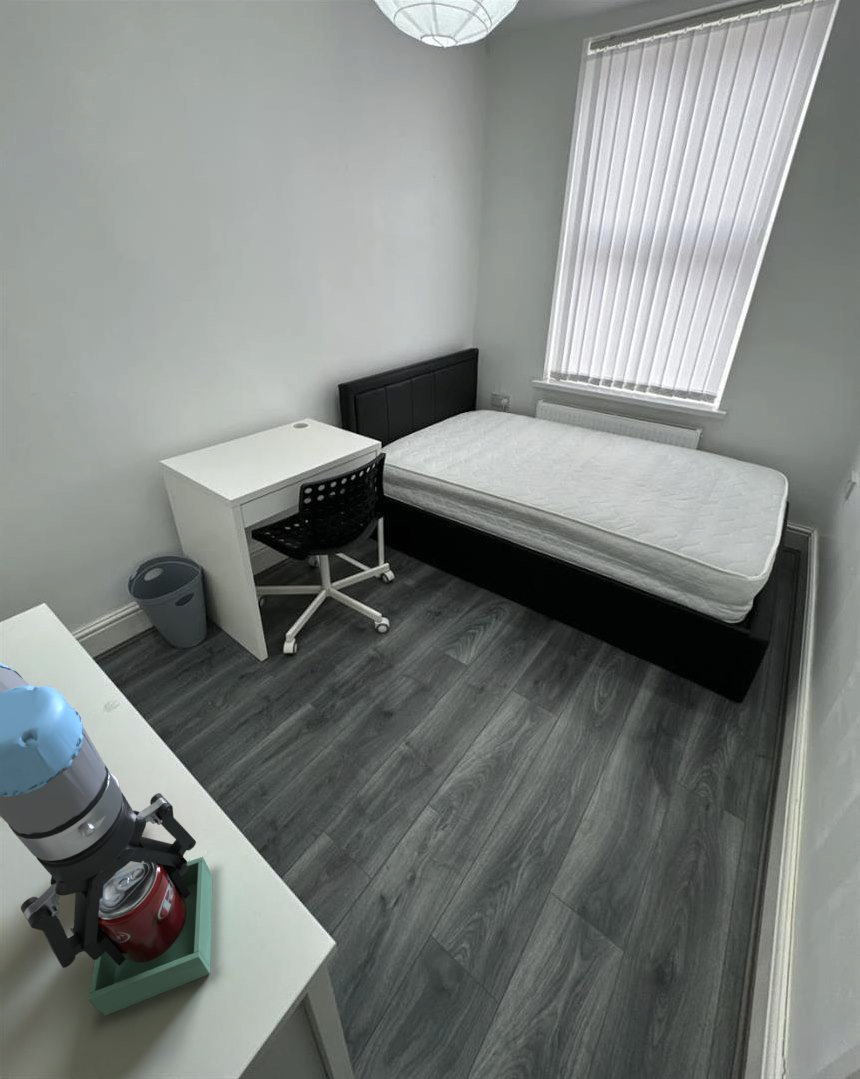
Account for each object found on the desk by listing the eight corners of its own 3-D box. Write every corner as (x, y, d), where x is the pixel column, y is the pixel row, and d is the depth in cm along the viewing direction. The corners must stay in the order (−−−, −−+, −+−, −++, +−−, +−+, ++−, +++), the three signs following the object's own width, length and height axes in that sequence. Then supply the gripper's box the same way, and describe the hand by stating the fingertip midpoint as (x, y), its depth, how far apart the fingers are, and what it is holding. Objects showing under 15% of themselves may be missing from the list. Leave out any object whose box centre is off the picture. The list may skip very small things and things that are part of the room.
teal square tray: (122, 906, 64) (108, 887, 61) (212, 875, 67) (203, 856, 64) (105, 1015, 55) (87, 1000, 52) (210, 973, 58) (198, 956, 55)
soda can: (129, 981, 54) (91, 940, 48) (116, 921, 59) (80, 877, 53) (195, 932, 58) (168, 888, 52) (178, 879, 63) (151, 833, 57)
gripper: (-41, 960, 37) (73, 1042, 49) (199, 762, 50) (241, 865, 63) (-71, 893, 40) (42, 985, 52) (160, 726, 54) (207, 829, 66)
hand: (150, 919), depth 58 cm, fingers closed on soda can, 7 cm apart
